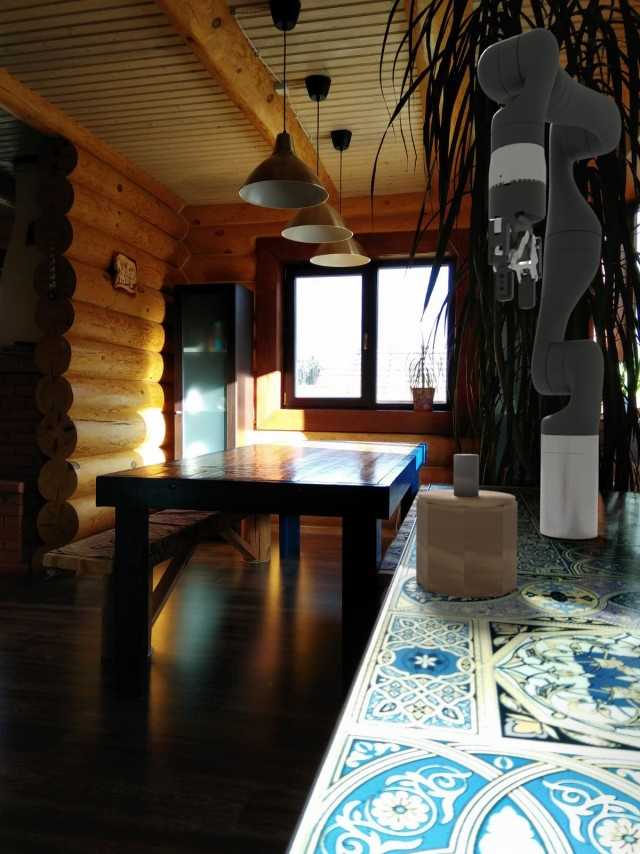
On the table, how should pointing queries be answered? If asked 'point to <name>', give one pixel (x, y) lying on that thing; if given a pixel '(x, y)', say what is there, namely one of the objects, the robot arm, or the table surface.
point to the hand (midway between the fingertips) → (516, 304)
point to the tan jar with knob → (466, 537)
